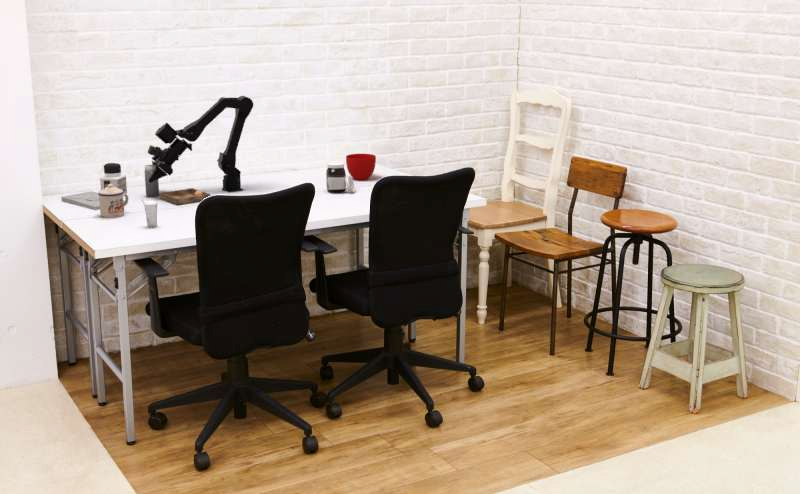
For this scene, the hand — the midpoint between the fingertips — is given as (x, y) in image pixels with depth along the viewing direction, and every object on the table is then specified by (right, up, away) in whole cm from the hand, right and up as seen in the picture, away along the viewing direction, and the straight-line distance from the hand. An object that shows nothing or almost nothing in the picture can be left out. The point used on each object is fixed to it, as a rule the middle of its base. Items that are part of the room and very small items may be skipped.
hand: (148, 180), depth 416 cm
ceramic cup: (+85, +3, +38) cm, 93 cm away
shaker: (+1, -6, +2) cm, 7 cm away
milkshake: (+12, -19, -45) cm, 51 cm away
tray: (+16, -8, -4) cm, 18 cm away
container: (-15, -6, +5) cm, 17 cm away
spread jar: (+77, -4, +11) cm, 78 cm away
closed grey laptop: (-19, -10, -8) cm, 23 cm away
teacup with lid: (-5, -15, -28) cm, 32 cm away
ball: (+21, -7, -5) cm, 23 cm away
